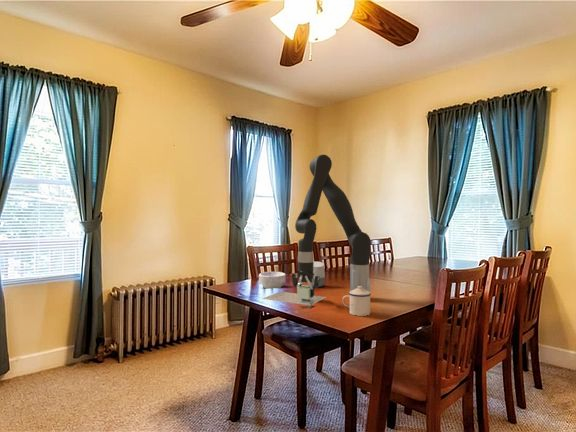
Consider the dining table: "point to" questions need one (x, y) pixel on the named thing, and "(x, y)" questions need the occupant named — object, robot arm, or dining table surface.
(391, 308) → the dining table surface
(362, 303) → the teacup with lid
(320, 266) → the smart speaker
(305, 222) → the robot arm
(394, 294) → the dining table surface
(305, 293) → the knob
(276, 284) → the white round bowl
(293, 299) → the plate
